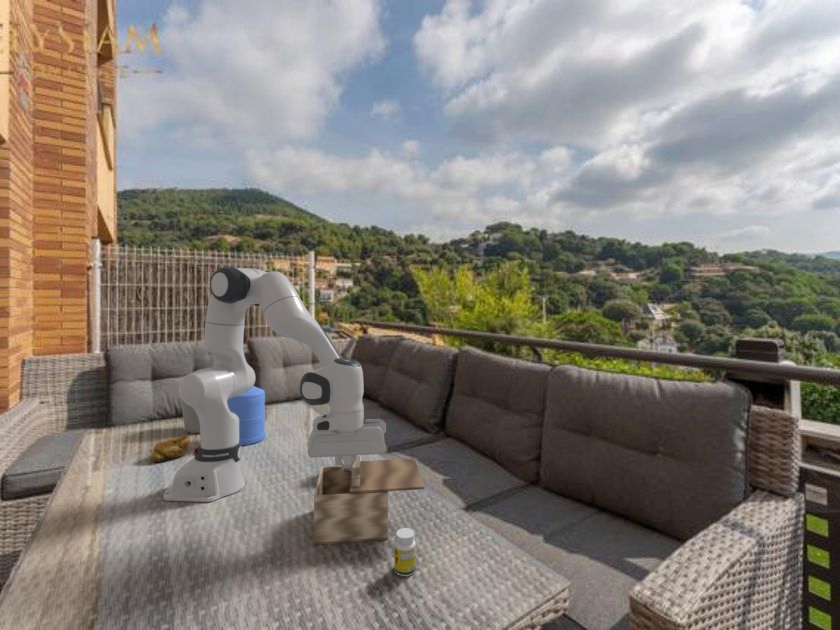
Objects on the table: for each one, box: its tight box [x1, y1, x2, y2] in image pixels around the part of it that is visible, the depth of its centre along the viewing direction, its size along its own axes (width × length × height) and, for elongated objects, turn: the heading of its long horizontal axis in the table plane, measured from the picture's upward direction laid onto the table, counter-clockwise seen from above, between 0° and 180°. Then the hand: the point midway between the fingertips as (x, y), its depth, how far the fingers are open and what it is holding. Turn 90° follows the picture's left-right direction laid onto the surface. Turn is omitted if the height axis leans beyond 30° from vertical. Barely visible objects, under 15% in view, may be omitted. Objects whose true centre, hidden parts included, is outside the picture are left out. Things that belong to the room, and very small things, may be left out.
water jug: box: [227, 385, 266, 447], centre depth 171 cm, size 16×16×28 cm
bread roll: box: [149, 435, 190, 463], centre depth 151 cm, size 13×10×8 cm
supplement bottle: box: [393, 527, 417, 577], centre depth 88 cm, size 5×5×8 cm
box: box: [313, 465, 389, 546], centre depth 107 cm, size 18×18×12 cm
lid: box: [350, 456, 426, 494], centre depth 108 cm, size 19×19×3 cm
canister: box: [178, 395, 200, 434], centre depth 184 cm, size 18×18×21 cm
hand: (347, 471), depth 106 cm, fingers closed
